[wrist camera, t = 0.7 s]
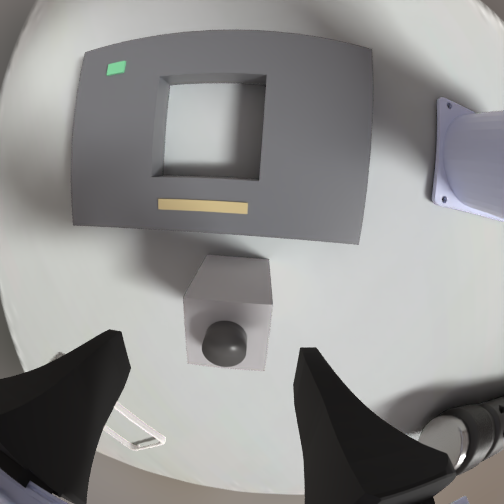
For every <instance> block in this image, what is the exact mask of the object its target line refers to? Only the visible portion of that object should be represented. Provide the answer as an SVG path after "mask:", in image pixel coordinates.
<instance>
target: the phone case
mask: <svg viewBox="0 0 504 504" xmlns="http://www.w3.org/2000/svg"><path fill="white" fill-rule="evenodd" d="M114 408H115V409H116V410H117V411H119V412H120V413H121V414H122V415H124V416H125V417H126V418H128V419H129V420H130V421H132V422H133V423H134V424H136V425H137V426H139V427H140V428H141V429H143V430H144V431H146V432H147V433H148V434H150V435H151V436H153V437H154V438H156V439H157V440H159V443H156V444H152V445H148V446H143V447H140V445H134V444H132V443H130V442H129V441H127V440H126V439H124V438H123V437H121V436H120V435H119V434H117V433H116V432H115V431H113V430H112V429H110V428H109V427H108V426H107V425H105V426H104V428H103V430H104V431H105V432H107V433H108V434H109V435H111V436H112V437H114V438H115V439H116V440H118V441H119V442H121V443H122V444H124V445H125V446H127V447H128V448H130V449H132V450H134V451H138V450H142V449H147V448H151V447H155V446H159V445H163V444H165V441H166V438H165V437H164V436H163V435H162V434H160V433H159V432H157V431H156V430H155V429H153V428H152V427H150V426H149V425H147V424H146V423H145V422H143V421H142V420H141V419H139V418H138V417H137V416H135V415H134V414H133V413H131V412H130V411H129V410H127V409H126V408H125V407H124V406H122V405H121V404H120V403H119V402H118V401H117V402H116V404H115V406H114Z"/></svg>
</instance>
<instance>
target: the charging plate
mask: <svg viewBox="0 0 504 504" xmlns="http://www.w3.org/2000/svg"><path fill="white" fill-rule="evenodd" d="M197 83H242V84H262V85H266V93H265V107H264V121H263V135H262V149H261V162H260V176H259V179H248V178H231V177H210V176H163V166H164V146H165V131H166V119H167V108H168V98H169V89H170V85H177V84H197ZM372 114H373V64H372V49H369V48H366V47H362V46H358V45H354V44H350V43H346V42H341V41H336V40H332V39H326V38H321V37H315V36H309V35H302V34H294V33H285V32H274V31H260V30H206V31H191V32H181V33H172V34H164V35H157V36H151V37H145V38H140V39H135V40H130V41H125V42H121V43H117V44H113V45H109V46H105V47H102V48H98V49H95V50H91V51H88V52H85V55H84V60H83V64H82V69H81V74H80V80H79V86H78V92H77V99H76V106H75V115H74V125H73V137H72V157H71V194H72V215H73V225H77V226H99V227H119V228H138V229H156V230H173V231H189V232H204V233H219V234H233V235H247V236H261V237H274V238H286V239H299V240H311V241H323V242H334V243H346V244H357V245H359V240H360V234H361V228H362V222H363V215H364V208H365V200H366V192H367V184H368V174H369V164H370V151H371V136H372Z"/></svg>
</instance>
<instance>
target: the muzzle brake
mask: <svg viewBox="0 0 504 504" xmlns="http://www.w3.org/2000/svg"><path fill="white" fill-rule="evenodd" d="M418 442H420V443H422V444H424V445H427V446H429V447H432V448H434V449H437V450H439V451H442V452H445V453H447V454H448V456H449V458H450V460H451V462H452V464H453V467H454V469H455V471H456V476H457V475H459V474H462V473H464V472H466V471H468V470H470V469H472V468H474V467H475V466H477V465H478V464H479V463H480V462H482V461H484V460H486V459H487V458H490V457H491V456H493V455H495V454H497V453H498V452H500V451H502V450H503V449H504V396H502V397H499V398H496V399H494V400H491V401H488V402H484V403H481V404H477V405H472V404H470V405H465V406H461V407H456V408H451V409H449V410H446V411H445V412H443V413H442V414H440V415H439V416H438V417H436V418H434V419H432V420H431V421H430V422H429V423H428V424H427V425H426V426H425V427H424V429H423V430H422V432H421V434H420V437H419V440H418Z"/></svg>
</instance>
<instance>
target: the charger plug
mask: <svg viewBox="0 0 504 504" xmlns="http://www.w3.org/2000/svg"><path fill="white" fill-rule="evenodd" d="M183 304H184V322H185V337H186V350H187V361H188V364H194V365H202V366H210V367H220V368H230V369H241V370H255V371H265V363H266V356H267V348H268V341H269V333H270V325H271V317H272V308H273V300H272V288H271V276H270V265H269V259H258V258H245V257H232V256H219V255H207V256H206V257H205V259H204V261H203V263H202V264H201V266H200V268H199V270H198V271H197V273H196V275H195V277H194V279H193V280H192V282H191V284H190V286H189V288H188V289H187V291H186V293H185V295H184V297H183Z"/></svg>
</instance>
